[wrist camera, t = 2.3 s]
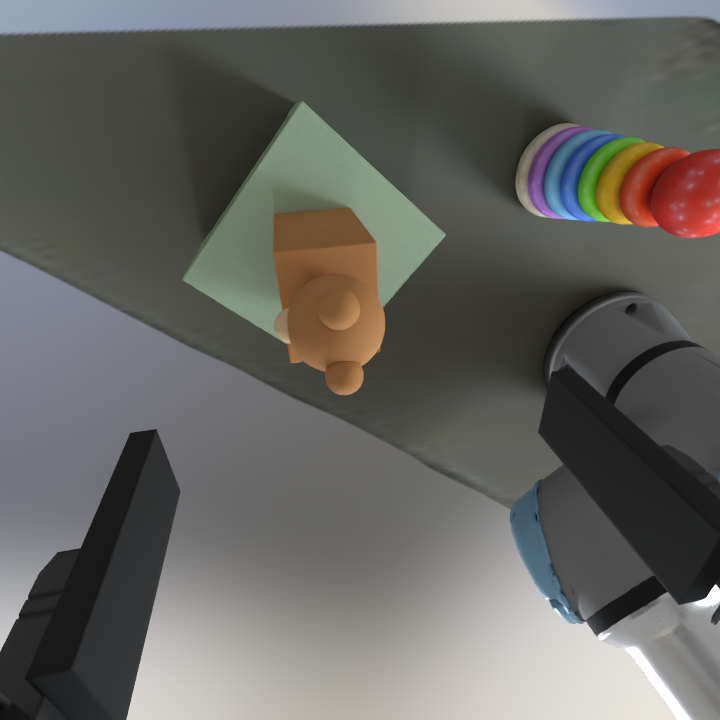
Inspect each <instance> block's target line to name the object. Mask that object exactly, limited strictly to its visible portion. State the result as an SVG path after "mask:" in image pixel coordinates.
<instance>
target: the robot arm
mask: <svg viewBox="0 0 720 720" xmlns="http://www.w3.org/2000/svg"><path fill="white" fill-rule="evenodd" d="M544 375H545V379H546V382H547V384H548V390H547V395H546V399H545V404H544V409H543V413H542V418H541V422H540V427H539V431H538V433H539V434H540V435H541V437H542V438H543V439H544V440H545V442H546V443H547V444H548V445H549V446H550V448H551V449H552V450H553V451H554V453H555V454H556V455H557V456H558V458H559V459H560V460H561V461H562V462H563V464H564V465H562V466H561V467H559V468H558V469H557V470H555V471H554V472H553V473H551V474H550V475H549V476H547V477H546V478H545V479H543V480H542V479H540V480H538V481H537V482H536V483H535V485H534V487H533V488H531V489H530V490H529V491H528V492H527V493H525V494H524V495H523V496H522V497H521V498H519V499H518V500H517V501H516V502H515V503H514V505H513V507H512V509H511V512H510V523H511V530H512V534H513V537H514V541H515V543H516V546H517V548H518V551H519V553H520V556H521V558H522V560H523V562H524V564H525V566H526V568H527V570H528V572H529V574H530V575H531V577H532V579H533V580H534V582H535V584H536V586H537V587H538V589H539V590H540V592H541V593H542V595H543V596H544V597H545V598H546V599H548V600H549V602H550V604H551V606H552V607H553V609H554V610H555V611H556V612H557V613H558V615H559V616H561V617H562V618H563V619H564V620H566V621H567V622H569V623H572V624H575V623H579V624H583V623H584V622H585V621H586V622H587V623H588V625H589V626H590V628H591V629H592V630H593V632H594V633H595V635H596V636H597V638H598V639H599V640H600V641H602V642H605V643H608V644H610V645H613V646H616V647H618V648H621V649H623V650H625V651H626V652H628V653H630V654H631V655H632V657H633V658H634V659H635V660H636V662H637V664H638V665H639V666H640V668H641V669H642V670H643V672H644V673H645V675H646V676H647V677H648V679H649V680H650V681H651V683H652V684H653V686H654V687H655V688H656V690H657V691H658V693H659V694H660V695H661V697H662V698H663V699H664V701H665V702H666V703H667V705H668V706H669V708H670V709H671V711H672V712H673V713H674V715H675V716H676V717H677V719H678V720H720V356H718V355H716V354H715V353H713V352H711V351H709V350H707V349H705V348H704V347H702V346H700V345H698V344H696V343H695V342H693V340H692V339H691V338H690V337H689V335H688V334H687V333H686V332H685V330H684V329H683V328H682V327H681V326H680V324H679V323H678V322H677V321H676V319H675V318H674V317H673V316H672V314H671V313H670V312H669V311H668V310H667V308H666V307H665V306H664V305H662V304H661V303H659V302H658V301H656V300H654V299H652V298H650V297H648V296H646V295H643V294H641V293H637V292H616V293H611V294H608V295H605V296H602V297H599V298H597V299H595V300H593V301H591V302H589V303H588V304H586V305H585V306H583V307H582V308H580V309H579V310H577V311H576V312H575V313H574V314H573V315H572V316H570V317H569V318H568V319H567V320H566V321H565V322H564V324H563V325H562V326H561V327H560V328H559V330H558V331H557V333H556V334H555V336H554V337H553V339H552V341H551V343H550V345H549V347H548V350H547V353H546V356H545V362H544ZM179 495H180V489H179V487H178V484H177V481H176V479H175V476H174V474H173V472H172V469H171V466H170V463H169V461H168V458H167V456H166V453H165V450H164V448H163V445H162V442H161V440H160V437H159V434H158V432H157V429H155V430H147V431H141V432H134V433H130V435H129V438H128V440H127V442H126V444H125V447H124V449H123V451H122V454H121V456H120V458H119V461H118V463H117V465H116V468H115V470H114V472H113V475H112V477H111V479H110V482H109V484H108V486H107V488H106V491H105V493H104V495H103V498H102V500H101V502H100V505H99V507H98V509H97V512H96V514H95V516H94V519H93V521H92V523H91V526H90V528H89V530H88V532H87V535H86V537H85V539H84V542H83V544H82V547H81V548H80V549H74V550H69V551H63V552H58V553H57V554H56V555H55V556H54V557H53V558H52V560H51V561H50V562H49V563H48V564H47V565H46V566H45V567H44V569H43V570H42V571H41V572H40V573H39V575H38V577H37V579H36V581H35V583H34V585H33V587H32V589H31V591H30V593H29V595H28V600H26V601H25V603H24V605H23V607H22V609H21V611H20V613H19V619H17V620H16V621H15V623H14V625H13V627H12V629H11V632H10V633H9V636H8V638H7V639H6V642H5V643H4V645H3V647H2V650H1V652H0V720H126V718H127V714H128V710H129V706H130V702H131V697H132V693H133V689H134V685H135V680H136V676H137V672H138V668H139V664H140V659H141V655H142V651H143V646H144V642H145V638H146V634H147V630H148V626H149V621H150V617H151V613H152V608H153V604H154V600H155V596H156V592H157V588H158V583H159V579H160V575H161V571H162V566H163V562H164V558H165V554H166V549H167V545H168V541H169V537H170V533H171V528H172V524H173V520H174V516H175V511H176V507H177V503H178V499H179Z"/></svg>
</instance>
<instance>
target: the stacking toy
mask: <svg viewBox="0 0 720 720" xmlns="http://www.w3.org/2000/svg"><path fill="white" fill-rule="evenodd" d="M516 191H517V195H518V198H519V200H520V202H521V203H522V205H523V206H524V207H525V208H526V209H527V210H528V211H529V212H531V213H533V214H535V215H537V216H541V217H550V218H554V219H569V220H582V221H588V222H594V221H602V222H614V223H617V224H624V225H625V224H635V225H638V226H641V227H654V226H660V227H662V228H663V229H664V230H665V231H667V232H669V233H671V234H673V235H675V236H679V237H685V238H699V237H706V236H710V235H713V234H716V233H719V232H720V149H710V150H703V151H699V152H696V153H693V154H690V153H689V152H688V151H686V150H684V149H681V148H677V147H665V148H664V147H663V146H661V145H659V144H656V143H651V142H646V141H644V140H642V139H640V138H635V137H624V136H622V135H618V134H612V133H611V132H608V131H605V130H595V129H593V128H590V127H584V126H581V125H578V124H573V123H563V124H558V125H555V126H552V127H550V128H548V129H546V130H545V131H543V132H541V133H540V134H539V135H538V136H537V137H535V138H534V139H533V140H532V141H531V143H530V144H529V145H528V146H527V148H526V149H525V151H524V152H523V154H522V156H521V158H520V161H519V164H518V167H517V172H516Z"/></svg>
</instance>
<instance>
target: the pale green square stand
mask: <svg viewBox="0 0 720 720" xmlns="http://www.w3.org/2000/svg"><path fill="white" fill-rule="evenodd" d="M339 208H351V209H352V210H353V212H354V213H355V214H356V216H357V217H358V218H359V220H360V221H361V222H362V224H363V225H364V226H365V228H366V229H367V230H368V232H369V233H370V234H371V236H372V237H373V238H374V240H375V241H376V242H377V259H378V295H379V301H380V303H381V305H382V308H383V307H384V305H385V304H386V303H387V302H388V301H389V300H390V299H391V297H392V296H393V295H394V294H395V293H396V292H397V291H398V289H399V288H400V287H401V286H402V285H403V284H404V282H405V281H406V280H407V279H408V278H409V277H410V276H411V274H412V273H413V272H414V271H415V270H416V269H417V268H418V266H419V265H420V264H421V263H422V262H423V261H424V259H425V258H426V257H427V256H428V255H429V254H430V253H431V251H432V250H433V249H434V248H435V247H436V246H437V245H438V243H439V242H440V241H441V240H442V239H443V238H444V236H445V233H444V232H443V231H442V230H440V229H439V228H438V227H437V226H436V225H435V224H434V223H433V222H432V221H431V220H430V219H429V218H428V217H426V216H425V215H424V214H423V213H422V212H421V211H420V210H419V209H418V208H417V207H416V206H415V205H414V204H413V203H411V202H410V201H409V200H408V199H407V198H406V197H405V196H404V195H403V194H402V193H401V192H400V191H399V190H397V189H396V188H395V187H394V186H393V185H392V184H391V183H390V182H389V181H388V180H387V179H386V178H385V177H384V176H382V175H381V174H380V173H379V172H378V171H377V170H376V169H375V168H374V167H373V166H372V165H371V164H370V163H369V162H367V161H366V160H365V159H364V158H363V157H362V156H361V155H360V154H359V153H358V152H357V151H356V150H355V149H353V148H352V147H351V146H350V145H349V144H348V143H347V142H346V141H345V140H344V139H343V138H342V137H341V136H340V135H338V134H337V133H336V132H335V131H334V130H333V129H332V128H331V127H330V126H329V125H328V124H327V123H326V122H324V121H323V120H322V119H321V118H320V117H319V116H318V115H317V114H316V113H315V112H314V111H313V110H312V109H311V108H309V107H308V106H307V105H306V104H305V103H304V102H303V101H300V102H297V103H295V104H294V105H293V107H292V108H291V110H290V111H289V113H288V114H287V118H286V119H285V121H284V122H283V124H282V125H281V127H280V128H279V130H278V131H277V133H276V134H275V136H274V137H273V139H272V140H271V142H270V143H269V145H268V146H267V148H266V149H265V151H264V152H263V154H262V155H261V157H260V158H259V160H258V161H257V163H256V164H255V166H254V167H253V169H252V170H251V172H250V173H249V175H248V176H247V178H246V179H245V181H244V182H243V184H242V185H241V187H240V188H239V190H238V191H237V193H236V194H235V196H234V197H233V199H232V200H231V202H230V203H229V205H228V206H227V208H226V209H225V211H224V212H223V214H222V215H221V217H220V218H219V220H218V221H217V223H216V224H215V226H214V227H213V229H212V230H211V232H209V233H208V235H207V236H206V238H205V239H204V241H203V242H202V244H201V246H200V248H199V250H198V251H197V253H196V255H195V257H194V259H193V261H192V262H191V264H190V266H189V268H188V270H187V271H186V273H185V275H184V277H183V279H182V280H183V281H185V282H186V283H188V284H190V285H191V286H193V287H195V288H196V289H198V290H199V291H201V292H203V293H204V294H206V295H208V296H209V297H211V298H212V299H214V300H216V301H217V302H219V303H221V304H222V305H224V306H225V307H227V308H229V309H230V310H232V311H234V312H235V313H237V314H238V315H240V316H242V317H243V318H245V319H247V320H248V321H250V322H251V323H253V324H255V325H256V326H258V327H260V328H261V329H263V330H265V331H266V332H268V333H269V334H271V335H273V336H274V337H276V338H278V339H279V340H281V339H280V338H279V337H278V336H277V334H276V332H275V328H274V323H275V319H276V317H277V315H278V314H279V313H280V312H281V311H282V306H281V300H280V294H279V287H278V281H277V274H276V268H275V261H274V255H273V243H274V214H280V213H292V212H303V211H315V210H327V209H339ZM281 341H282V340H281ZM282 342H284V341H282ZM284 343H286V342H284ZM286 344H287V343H286Z"/></svg>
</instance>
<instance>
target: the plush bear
mask: <svg viewBox="0 0 720 720" xmlns="http://www.w3.org/2000/svg"><path fill="white" fill-rule="evenodd" d="M273 255H274V261H275V268H276V274H277V281H278V287H279V294H280V300H281V306H282V311H281V312H280V313H279V314H278V315H277V317H276V319H275V323H274V328H275V332H276V334H277V336H278V337H279V338H280V339H281V340H282V341H284V342H286V343H287V345H288V352H289V358H290V362H291V363H296V362H303V361H304V362H306V363H307V364H308V365H310V366H312V367H314V368H316V369H318V370H321V371H324V372H325V380H326V383H327V385H328V387H329V388H330V389H331V390H332V391H333V392H335V393H337V394H340V395H349V394H352V393H354V392H355V391H357V390H358V389H359V388H360V386H361V385H362V382H363V377H364V374H363V370H362V367H361V366H362V365H364V364H365V363H367V362H368V361H369V360H370V359H371V358H372V357H373V356H374V354H375V353H376V352H380V345H381V343H382V340H383V337H384V332H385V315H384V311H383V308H382V305H381V303H380V301H379V295H378V259H377V242H376V241H375V240H374V238H373V237H372V236H371V234H370V233H369V232H368V230H367V229H366V228H365V226H364V225H363V224H362V222H361V221H360V220H359V218H358V217H357V216H356V214H355V213H354V212H353V210H352V209H351V208H339V209H327V210H315V211H303V212H292V213H280V214H274V243H273Z"/></svg>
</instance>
